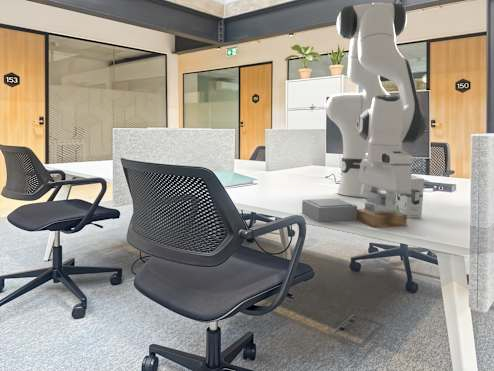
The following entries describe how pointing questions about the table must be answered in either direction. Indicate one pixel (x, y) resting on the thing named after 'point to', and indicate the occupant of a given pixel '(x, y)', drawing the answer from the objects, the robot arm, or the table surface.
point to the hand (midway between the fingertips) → (380, 204)
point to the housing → (379, 203)
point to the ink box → (411, 199)
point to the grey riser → (329, 210)
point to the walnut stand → (381, 219)
